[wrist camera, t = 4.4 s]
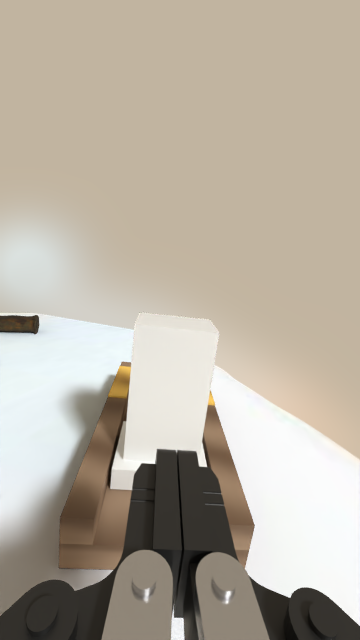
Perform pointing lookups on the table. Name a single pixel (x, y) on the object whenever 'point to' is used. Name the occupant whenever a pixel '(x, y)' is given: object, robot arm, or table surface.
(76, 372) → the table surface
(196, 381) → the switch tab
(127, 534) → the robot arm
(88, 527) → the switch housing
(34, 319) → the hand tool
